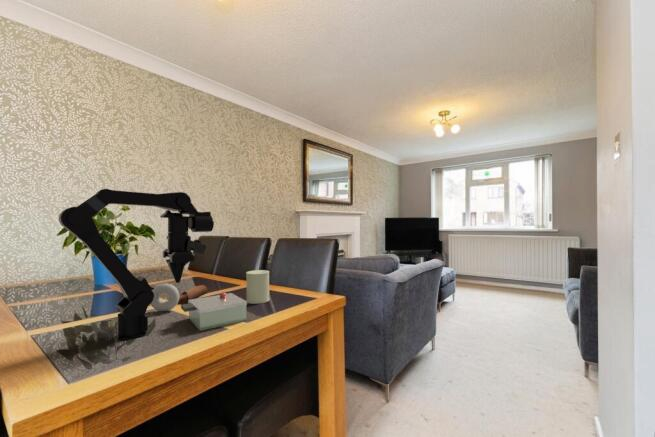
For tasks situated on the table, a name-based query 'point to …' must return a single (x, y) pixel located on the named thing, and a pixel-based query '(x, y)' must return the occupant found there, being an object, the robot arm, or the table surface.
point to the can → (257, 286)
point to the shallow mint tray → (218, 317)
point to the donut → (172, 294)
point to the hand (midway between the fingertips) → (177, 282)
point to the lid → (213, 303)
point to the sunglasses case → (191, 294)
